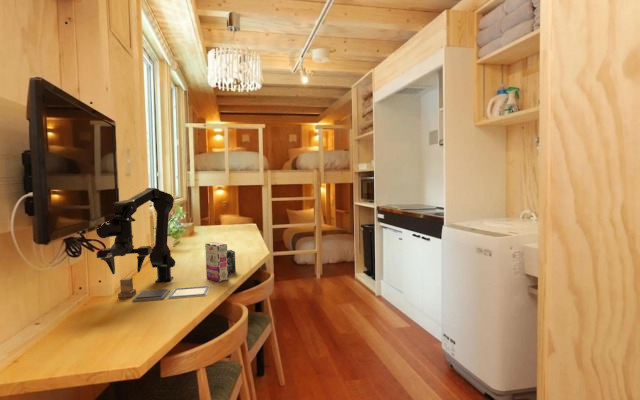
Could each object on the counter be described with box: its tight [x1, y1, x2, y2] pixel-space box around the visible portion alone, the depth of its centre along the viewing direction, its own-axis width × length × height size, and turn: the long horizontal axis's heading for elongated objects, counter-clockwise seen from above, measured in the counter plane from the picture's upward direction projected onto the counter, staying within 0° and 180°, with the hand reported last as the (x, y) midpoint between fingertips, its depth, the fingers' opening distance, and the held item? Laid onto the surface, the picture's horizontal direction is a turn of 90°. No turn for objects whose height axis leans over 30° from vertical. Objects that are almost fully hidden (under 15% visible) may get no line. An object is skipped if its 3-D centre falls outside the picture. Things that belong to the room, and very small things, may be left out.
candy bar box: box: [205, 241, 229, 283], centre depth 165 cm, size 11×5×16 cm, turn 47°
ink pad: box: [131, 288, 171, 303], centre depth 143 cm, size 11×11×1 cm
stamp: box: [117, 277, 137, 299], centre depth 144 cm, size 5×5×7 cm
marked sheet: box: [166, 285, 211, 300], centre depth 147 cm, size 12×14×1 cm
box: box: [227, 249, 237, 275], centre depth 177 cm, size 8×6×11 cm
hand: (126, 273), depth 144 cm, fingers open, 9 cm apart
